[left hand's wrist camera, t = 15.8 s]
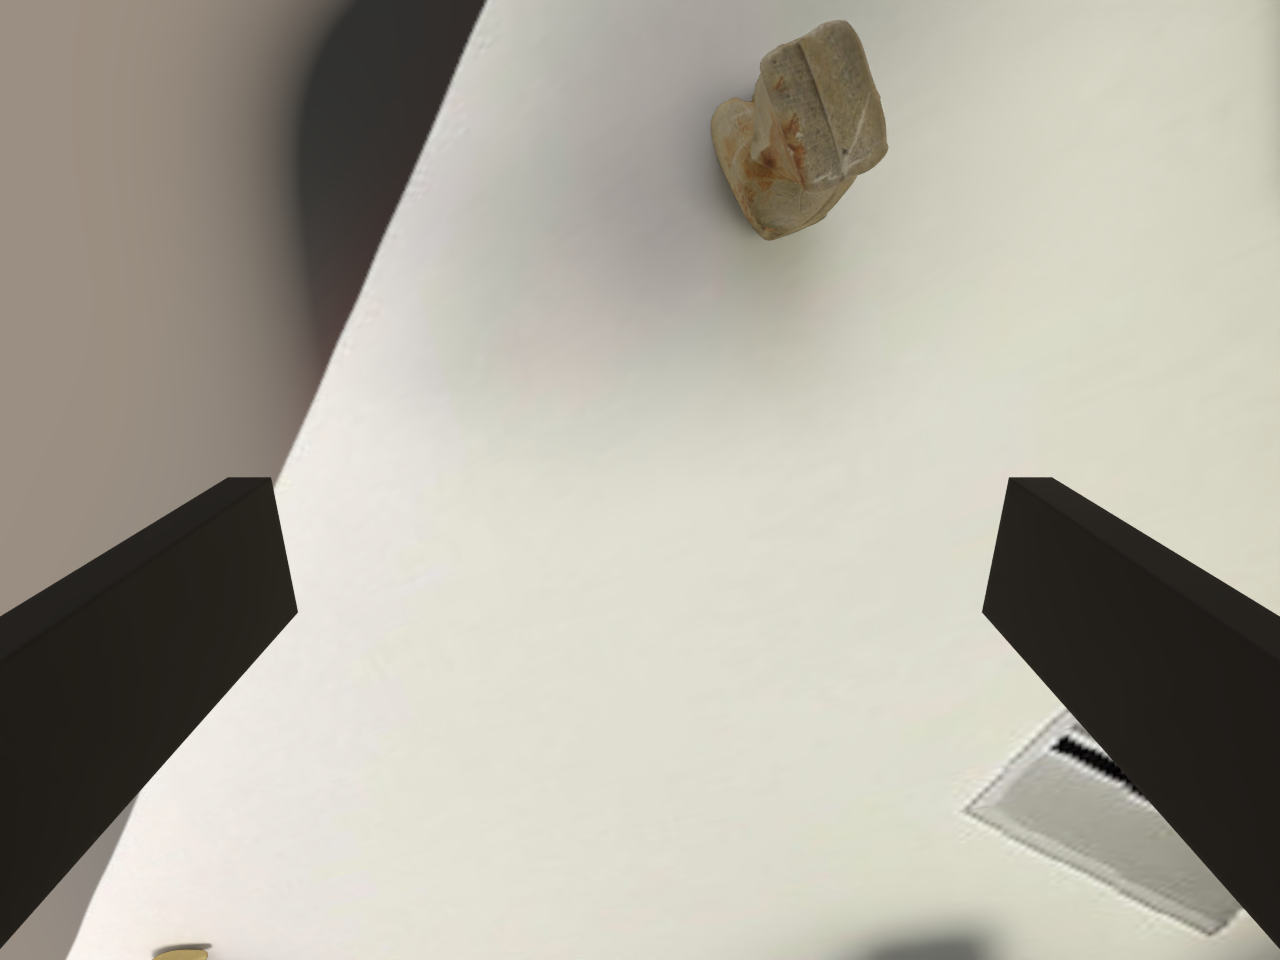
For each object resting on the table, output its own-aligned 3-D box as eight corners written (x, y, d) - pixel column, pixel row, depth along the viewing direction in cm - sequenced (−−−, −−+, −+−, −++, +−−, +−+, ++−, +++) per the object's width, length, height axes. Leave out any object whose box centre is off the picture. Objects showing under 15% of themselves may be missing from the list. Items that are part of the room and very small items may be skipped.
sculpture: (798, 75, 36) (899, -23, 22) (831, 214, 38) (943, 207, 24) (692, 117, 36) (724, 49, 22) (731, 251, 39) (783, 265, 25)
